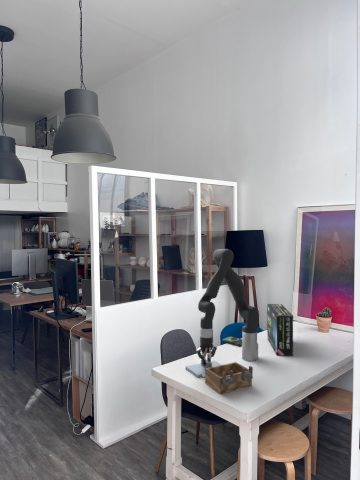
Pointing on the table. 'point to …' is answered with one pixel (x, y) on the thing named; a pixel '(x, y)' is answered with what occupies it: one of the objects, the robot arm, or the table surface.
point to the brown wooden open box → (228, 377)
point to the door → (201, 368)
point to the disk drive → (233, 341)
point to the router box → (280, 329)
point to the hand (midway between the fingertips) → (206, 364)
